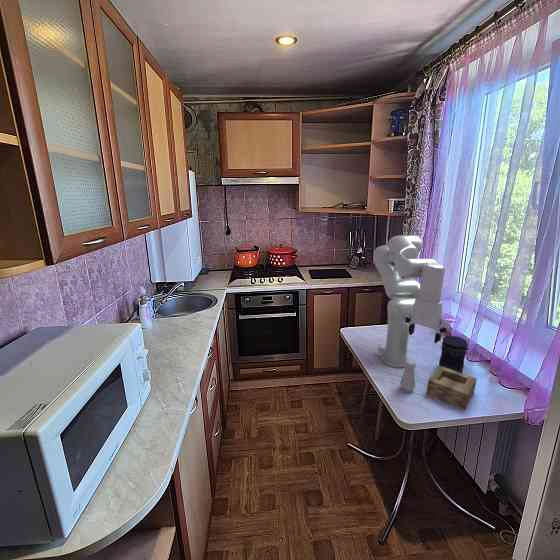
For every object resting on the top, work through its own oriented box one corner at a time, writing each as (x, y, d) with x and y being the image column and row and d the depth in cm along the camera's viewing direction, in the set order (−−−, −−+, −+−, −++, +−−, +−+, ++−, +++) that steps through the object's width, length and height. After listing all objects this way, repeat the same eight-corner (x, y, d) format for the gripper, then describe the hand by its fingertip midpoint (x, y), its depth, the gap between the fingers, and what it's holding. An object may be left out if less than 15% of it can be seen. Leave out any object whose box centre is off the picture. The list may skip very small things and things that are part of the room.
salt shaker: (411, 384, 135) (414, 357, 132) (417, 393, 130) (420, 365, 126) (397, 385, 135) (400, 357, 131) (402, 393, 130) (406, 365, 126)
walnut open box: (426, 394, 129) (428, 379, 127) (437, 379, 139) (439, 365, 137) (464, 410, 120) (467, 394, 118) (473, 393, 130) (476, 378, 128)
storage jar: (434, 364, 151) (438, 335, 146) (455, 364, 150) (460, 335, 146) (444, 376, 141) (449, 346, 137) (467, 376, 141) (472, 346, 136)
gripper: (402, 293, 123) (398, 333, 128) (450, 305, 112) (443, 348, 117) (410, 288, 128) (406, 328, 133) (457, 299, 117) (450, 341, 122)
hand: (423, 337), depth 125 cm, fingers open, 9 cm apart
